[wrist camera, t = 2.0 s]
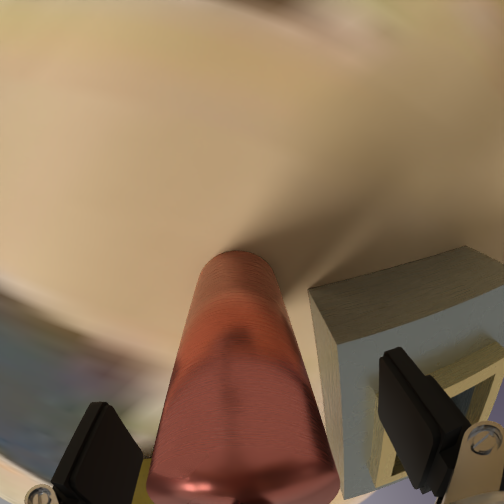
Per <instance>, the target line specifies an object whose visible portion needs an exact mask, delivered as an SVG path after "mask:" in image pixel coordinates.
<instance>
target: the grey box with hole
mask: <svg viewBox="0 0 504 504" xmlns="http://www.w3.org/2000/svg"><path fill="white" fill-rule="evenodd" d="M308 294H309V300H310V307H311V313H312V320H313V327H314V333H315V340H316V348H317V355H318V362H319V370H320V378H321V386H322V394H323V403H324V411H325V420H326V430H327V439H328V442H329V445H330V448H331V452H332V455H333V458H334V461H335V465H336V468H337V471H338V474H339V478H340V488H341V492H342V495H343V498H344V500H346V499H350V498H353V497H356V496H359V495H363V494H366V493H369V492H372V491H375V490H378V489H380V488H383V487H386V486H389V485H391V484H394V483H396V482H399V481H401V480H404V479H406V478H409V477H408V475H407V473H406V471H405V469H404V467H403V465H402V463H401V461H400V459H399V457H398V455H397V453H396V451H395V449H394V447H393V445H392V443H391V441H390V439H389V437H388V435H387V433H386V431H385V429H384V427H383V425H382V423H381V421H380V419H379V415H378V396H379V358H380V357H383V354H384V352H385V351H388V350H391V349H394V348H396V347H402V348H403V350H404V351H405V352H406V353H407V354H408V356H409V357H410V358H411V359H412V360H413V362H414V363H415V364H416V365H417V367H418V368H419V369H420V370H421V372H422V373H423V374H424V375H425V376H426V375H431V376H432V377H433V378H434V379H435V380H436V381H437V382H438V383H439V385H440V386H441V387H442V388H443V390H444V391H445V392H446V393H447V394H448V396H449V397H450V398H451V399H452V401H453V402H454V403H455V404H456V406H457V407H458V408H459V409H460V411H461V412H462V413H463V415H464V416H465V417H466V418H467V420H468V421H469V422H470V424H471V425H473V424H475V423H478V422H481V421H487V420H488V417H489V415H490V412H491V410H492V407H493V405H494V402H495V400H496V397H497V394H498V391H499V389H500V386H501V383H502V380H503V377H504V264H502V263H500V262H498V261H496V260H494V259H492V258H490V257H488V256H486V255H484V254H482V253H480V252H478V251H476V250H474V249H472V248H470V247H467V246H464V247H461V248H458V249H455V250H451V251H448V252H445V253H442V254H438V255H435V256H431V257H428V258H425V259H421V260H418V261H414V262H411V263H407V264H404V265H400V266H397V267H393V268H389V269H386V270H382V271H378V272H375V273H371V274H367V275H363V276H359V277H356V278H352V279H348V280H344V281H340V282H336V283H332V284H328V285H324V286H320V287H316V288H312V289H308Z"/></svg>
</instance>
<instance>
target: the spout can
mask: <svg viewBox="0 0 504 504" xmlns="http://www.w3.org/2000/svg"><path fill="white" fill-rule="evenodd" d="M339 489H340V478H339V474H338V471H337V468H336V465H335V461H334V458H333V455H332V452H331V448H330V445H329V442H328V439H327V435H326V432H325V429H324V426H323V423H322V419H321V416H320V413H319V410H318V407H317V403H316V400H315V397H314V394H313V391H312V388H311V384H310V381H309V378H308V375H307V372H306V369H305V366H304V363H303V359H302V356H301V353H300V350H299V347H298V344H297V341H296V338H295V335H294V332H293V329H292V325H291V322H290V319H289V316H288V313H287V310H286V307H285V304H284V301H283V298H282V295H281V292H280V289H279V286H278V283H277V280H276V277H275V274H274V272H273V270H272V269H271V267H270V266H269V265H268V263H267V262H265V261H264V260H263V259H262V258H260V257H259V256H257V255H255V254H252V253H250V252H245V251H229V252H225V253H222V254H220V255H218V256H216V257H214V258H213V259H211V260H210V261H209V262H208V263H207V264H206V265H205V267H204V268H203V269H202V271H201V273H200V276H199V279H198V282H197V285H196V289H195V292H194V296H193V299H192V303H191V306H190V310H189V313H188V317H187V320H186V324H185V327H184V331H183V335H182V338H181V342H180V346H179V349H178V353H177V357H176V361H175V364H174V368H173V372H172V376H171V380H170V384H169V388H168V391H167V395H166V399H165V403H164V408H163V412H162V416H161V420H160V424H159V428H158V432H157V437H156V441H155V445H154V450H153V454H152V459H151V463H150V468H149V472H148V477H147V482H146V490H147V493H148V495H149V497H150V499H151V500H152V501H153V502H154V503H155V504H329V503H330V502H331V501H332V500H333V499H334V498H335V496H336V495H337V493H338V491H339Z"/></svg>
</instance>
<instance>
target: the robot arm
mask: <svg viewBox="0 0 504 504" xmlns="http://www.w3.org/2000/svg"><path fill="white" fill-rule="evenodd" d="M378 415H379V419H380V421H381V423H382V425H383V427H384V429H385V431H386V433H387V435H388V437H389V439H390V441H391V443H392V445H393V447H394V449H395V451H396V453H397V455H398V457H399V459H400V461H401V463H402V465H403V467H404V469H405V471H406V473H407V475H408V477H409V479H410V481H411V483H412V485H413V487H414V488H415V489H419V488H420V490H421V492H422V494H425V493H427V492H429V491H431V490H432V492H433V494H434V496H436V497H437V499H436V501H435V504H504V428H503V427H502V426H501V425H500V424H498V423H496V422H492V421H481V422H478V423H475V424H473V425H471V424H470V422H469V421H468V420H467V418H466V417H465V416H464V415H463V413H462V412H461V411H460V409H459V408H458V407H457V406H456V404H455V403H454V402H453V401H452V399H451V398H450V397H449V396H448V394H447V393H446V392H445V391H444V390H443V388H442V387H441V386H440V385H439V383H438V382H437V381H436V380H435V379H434V378H433V377H432V376H431V375H426V376H425V375H424V374H423V373H422V372H421V370H420V369H419V368H418V367H417V365H416V364H415V363H414V362H413V360H412V359H411V358H410V357H409V356H408V354H407V353H406V352H405V351H404V350H403V348H402V347H396V348H394V349H391V350H388V351H385V352H384V354H383V357H380V358H379V396H378ZM142 462H143V453H142V451H141V449H140V448H139V447H138V445H137V444H136V442H135V441H134V439H133V438H132V436H131V435H130V433H129V432H128V430H127V429H126V427H125V426H124V424H123V423H122V421H121V419H120V418H119V416H118V415H117V413H116V411H115V410H114V408H113V407H112V406H110V405H109V404H108V403H107V402H92V403H91V404H90V405H89V407H88V409H87V410H86V412H85V414H84V416H83V418H82V420H81V422H80V424H79V426H78V427H77V429H76V431H75V433H74V435H73V437H72V439H71V441H70V443H69V445H68V447H67V449H66V451H65V453H64V455H63V457H62V459H61V461H60V463H59V465H58V467H57V469H56V471H55V473H54V475H53V478H52V480H51V483H52V484H53V485H54V486H53V488H51V487H50V486H48V485H45V484H40V485H36V486H34V487H32V488H31V489H30V490H29V491H28V492H27V494H26V496H25V500H24V502H25V504H132V500H133V496H134V492H135V488H136V484H137V480H138V477H139V473H140V469H141V465H142Z"/></svg>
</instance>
